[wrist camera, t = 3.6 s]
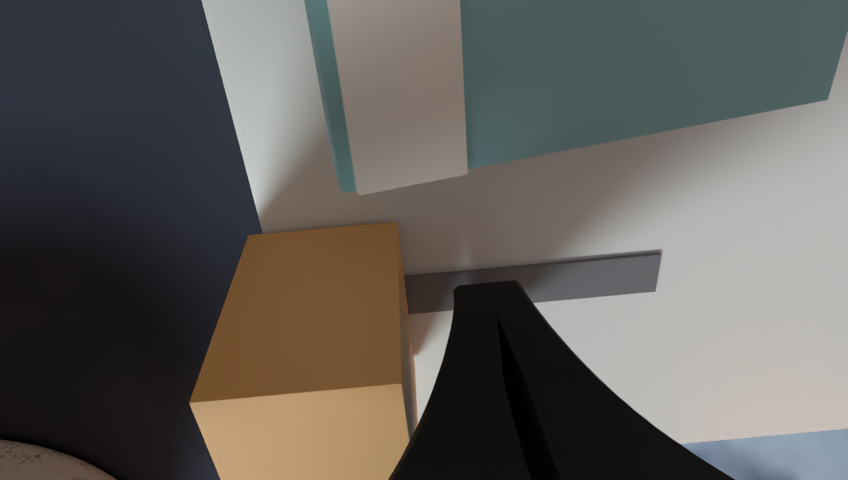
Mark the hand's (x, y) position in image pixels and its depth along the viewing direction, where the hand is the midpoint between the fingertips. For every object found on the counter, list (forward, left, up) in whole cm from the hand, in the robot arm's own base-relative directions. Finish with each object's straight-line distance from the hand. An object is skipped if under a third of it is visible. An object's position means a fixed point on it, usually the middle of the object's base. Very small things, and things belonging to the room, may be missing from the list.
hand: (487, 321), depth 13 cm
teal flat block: (-2, -7, +1) cm, 7 cm away
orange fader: (+3, 0, -1) cm, 3 cm away
